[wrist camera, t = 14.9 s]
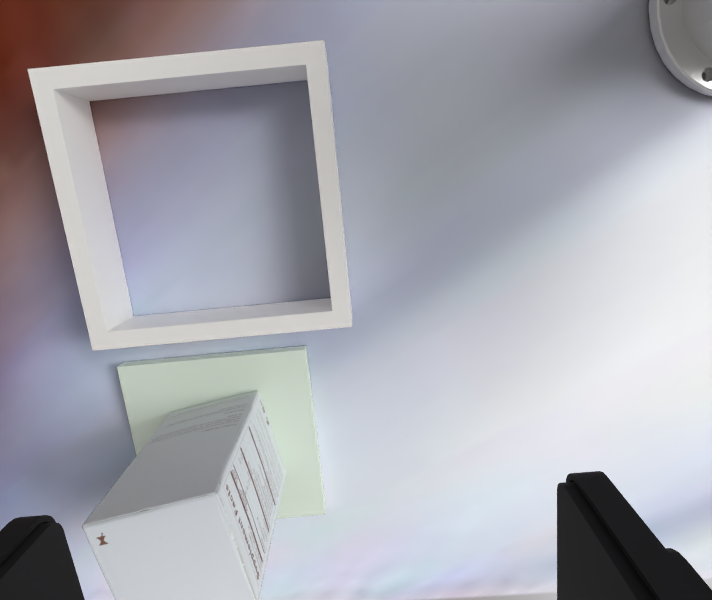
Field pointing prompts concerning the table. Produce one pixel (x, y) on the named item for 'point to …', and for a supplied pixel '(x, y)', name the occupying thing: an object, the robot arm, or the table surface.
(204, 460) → the supplement box
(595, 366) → the table surface
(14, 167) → the table surface
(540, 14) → the table surface
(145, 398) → the pad
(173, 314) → the bin
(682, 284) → the table surface
